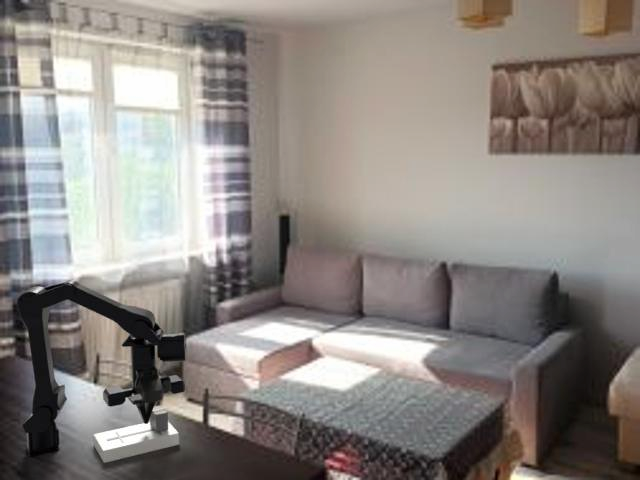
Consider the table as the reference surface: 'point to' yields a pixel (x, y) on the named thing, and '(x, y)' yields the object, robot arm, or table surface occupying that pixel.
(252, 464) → the table surface
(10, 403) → the table surface
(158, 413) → the fader
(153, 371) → the robot arm
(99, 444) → the console
